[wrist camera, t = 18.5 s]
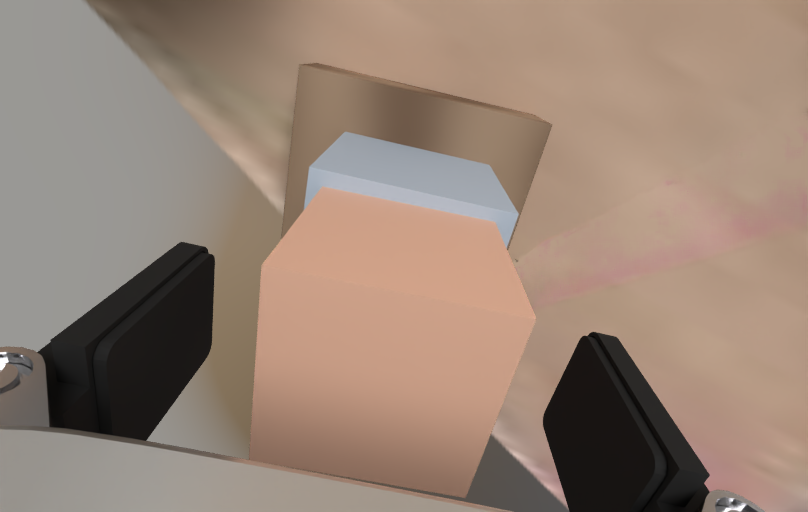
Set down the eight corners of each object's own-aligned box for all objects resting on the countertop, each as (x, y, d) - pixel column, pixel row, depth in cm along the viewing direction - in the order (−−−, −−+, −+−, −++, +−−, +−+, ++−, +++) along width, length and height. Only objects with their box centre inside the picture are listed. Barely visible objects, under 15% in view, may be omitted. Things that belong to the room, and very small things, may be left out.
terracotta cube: (452, 359, 14) (465, 497, 10) (304, 331, 14) (248, 459, 10) (495, 222, 12) (536, 318, 8) (322, 186, 12) (261, 264, 8)
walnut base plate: (534, 115, 20) (552, 125, 17) (472, 299, 24) (478, 331, 21) (316, 63, 19) (299, 64, 16) (293, 261, 23) (275, 289, 21)
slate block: (489, 164, 18) (518, 214, 12) (451, 289, 20) (461, 376, 15) (345, 131, 17) (309, 167, 12) (324, 262, 20) (287, 340, 14)
